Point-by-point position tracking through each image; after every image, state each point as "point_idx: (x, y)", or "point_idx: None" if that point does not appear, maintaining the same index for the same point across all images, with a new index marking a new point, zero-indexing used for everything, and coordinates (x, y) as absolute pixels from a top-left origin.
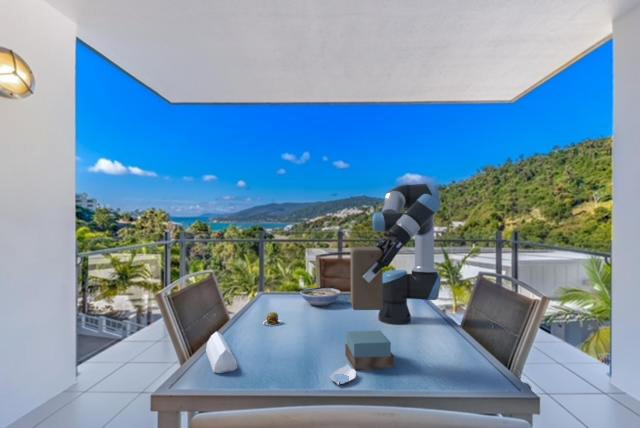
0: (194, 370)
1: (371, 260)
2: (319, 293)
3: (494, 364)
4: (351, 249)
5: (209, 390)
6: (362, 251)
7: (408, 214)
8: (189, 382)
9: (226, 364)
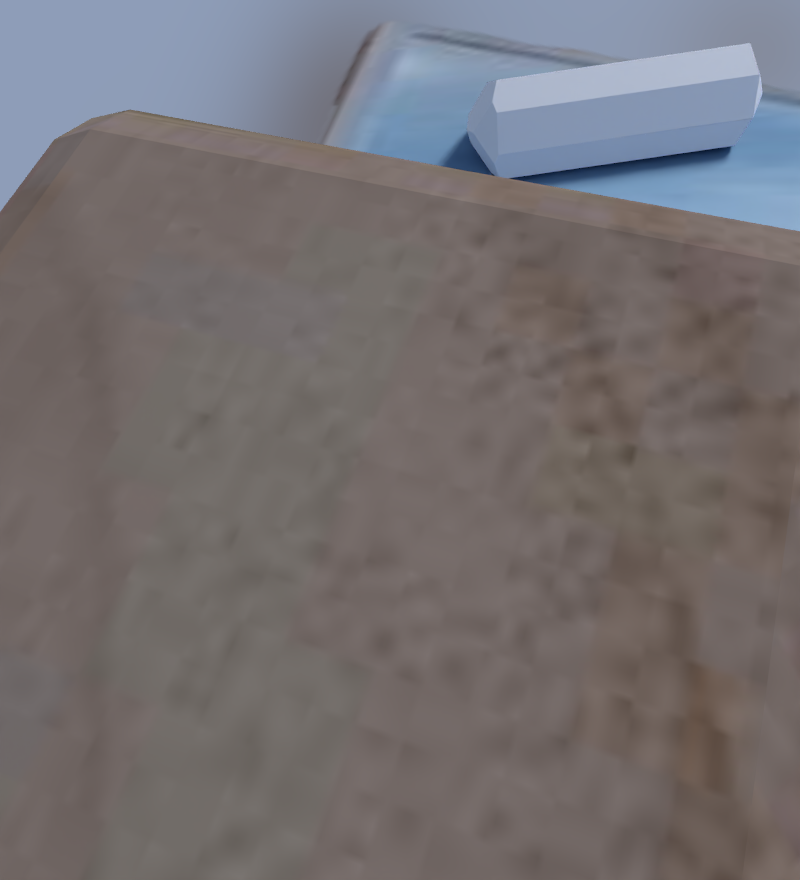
0: (527, 73)
1: None
2: None
3: None
4: (478, 184)
5: (362, 118)
6: None
7: None
8: (436, 71)
9: (469, 125)
